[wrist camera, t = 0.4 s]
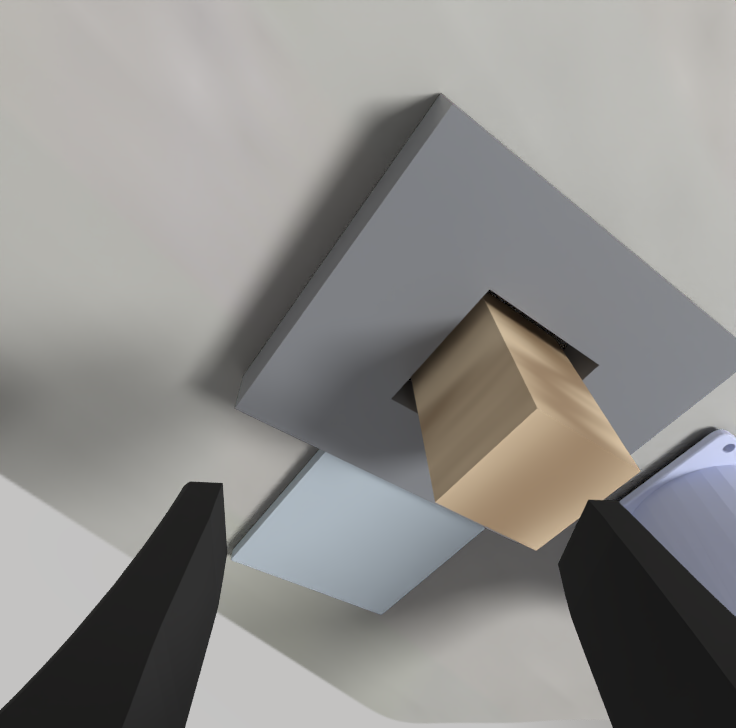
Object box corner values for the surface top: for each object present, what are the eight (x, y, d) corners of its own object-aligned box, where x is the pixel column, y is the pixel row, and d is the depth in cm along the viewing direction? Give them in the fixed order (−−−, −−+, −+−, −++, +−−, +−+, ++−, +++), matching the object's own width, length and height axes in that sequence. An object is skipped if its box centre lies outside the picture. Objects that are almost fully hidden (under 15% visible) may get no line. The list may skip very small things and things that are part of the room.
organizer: (723, 326, 20) (757, 355, 19) (506, 508, 26) (517, 543, 24) (440, 92, 16) (453, 103, 14) (242, 376, 21) (234, 408, 19)
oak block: (555, 338, 20) (640, 471, 15) (484, 407, 22) (536, 550, 16) (477, 285, 19) (537, 408, 13) (408, 363, 21) (435, 502, 15)
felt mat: (491, 510, 26) (494, 520, 25) (380, 604, 30) (381, 614, 29) (333, 432, 23) (333, 442, 22) (232, 549, 26) (230, 560, 26)
